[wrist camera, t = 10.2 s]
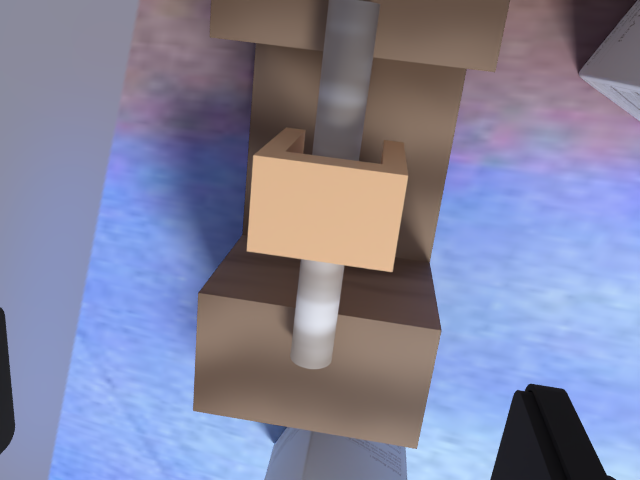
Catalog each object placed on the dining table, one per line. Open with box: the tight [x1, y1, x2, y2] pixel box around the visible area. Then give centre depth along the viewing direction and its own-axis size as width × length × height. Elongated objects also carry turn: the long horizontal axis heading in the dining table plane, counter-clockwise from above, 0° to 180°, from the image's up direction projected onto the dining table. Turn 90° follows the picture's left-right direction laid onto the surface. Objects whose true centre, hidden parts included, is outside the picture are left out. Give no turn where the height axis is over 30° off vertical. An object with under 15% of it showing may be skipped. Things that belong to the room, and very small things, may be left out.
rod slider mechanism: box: [193, 0, 510, 449], centre depth 30 cm, size 26×12×12 cm, turn 174°
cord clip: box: [247, 127, 408, 272], centre depth 26 cm, size 4×6×8 cm, turn 84°
